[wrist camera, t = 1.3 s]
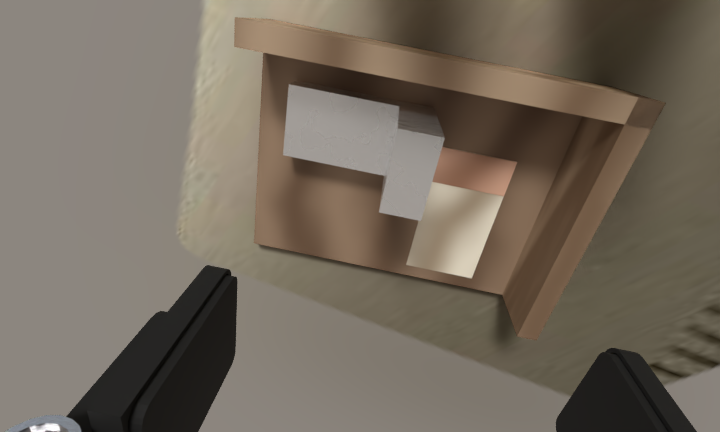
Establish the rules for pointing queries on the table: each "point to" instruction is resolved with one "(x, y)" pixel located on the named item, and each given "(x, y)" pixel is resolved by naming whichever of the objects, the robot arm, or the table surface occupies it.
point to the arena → (450, 166)
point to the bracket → (367, 140)
